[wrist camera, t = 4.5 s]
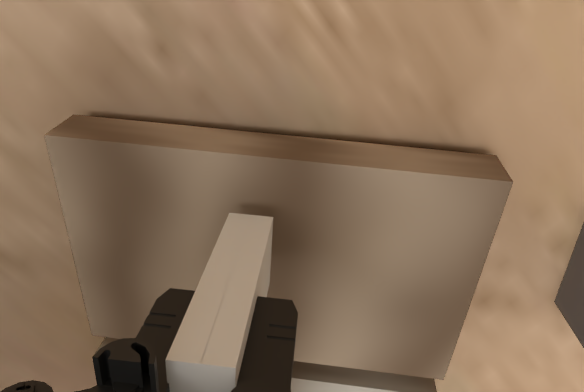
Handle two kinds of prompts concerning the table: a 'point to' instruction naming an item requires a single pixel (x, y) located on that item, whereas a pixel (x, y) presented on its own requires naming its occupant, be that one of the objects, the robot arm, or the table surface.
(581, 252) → the block
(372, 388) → the laid floor rows
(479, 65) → the table surface
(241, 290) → the robot arm
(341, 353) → the board
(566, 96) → the table surface
